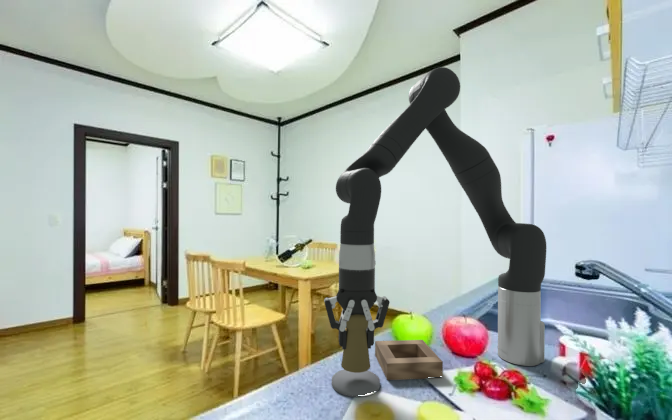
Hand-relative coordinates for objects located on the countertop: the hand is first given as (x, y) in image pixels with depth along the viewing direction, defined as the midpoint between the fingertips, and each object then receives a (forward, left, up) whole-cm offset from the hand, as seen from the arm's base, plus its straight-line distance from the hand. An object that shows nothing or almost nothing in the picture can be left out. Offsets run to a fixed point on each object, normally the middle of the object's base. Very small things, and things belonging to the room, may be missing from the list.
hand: (356, 347), depth 68 cm
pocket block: (-13, -7, -8) cm, 17 cm away
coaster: (0, 0, -8) cm, 8 cm away
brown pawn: (0, 0, -4) cm, 4 cm away
